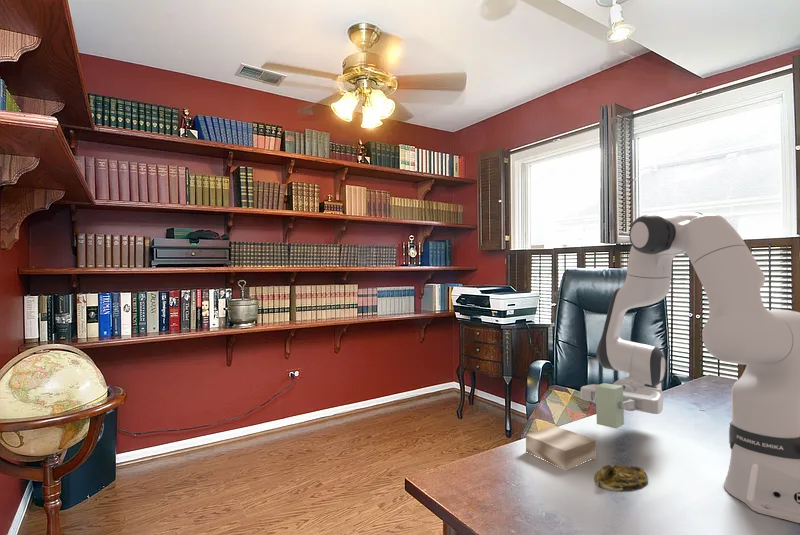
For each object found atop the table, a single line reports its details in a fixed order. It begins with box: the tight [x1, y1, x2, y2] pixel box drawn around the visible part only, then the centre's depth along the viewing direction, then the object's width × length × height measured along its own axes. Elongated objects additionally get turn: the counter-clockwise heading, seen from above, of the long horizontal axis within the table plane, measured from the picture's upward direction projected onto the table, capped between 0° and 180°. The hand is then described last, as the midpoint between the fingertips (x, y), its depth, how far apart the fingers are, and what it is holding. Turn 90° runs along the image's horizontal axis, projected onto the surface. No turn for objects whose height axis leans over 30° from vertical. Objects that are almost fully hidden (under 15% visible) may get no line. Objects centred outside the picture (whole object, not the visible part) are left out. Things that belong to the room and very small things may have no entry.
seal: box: [594, 464, 649, 492], centre depth 97 cm, size 9×5×15 cm
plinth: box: [525, 425, 597, 471], centre depth 109 cm, size 12×12×5 cm
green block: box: [595, 382, 625, 430], centre depth 113 cm, size 5×5×10 cm
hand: (608, 403), depth 112 cm, fingers closed on green block, 5 cm apart
